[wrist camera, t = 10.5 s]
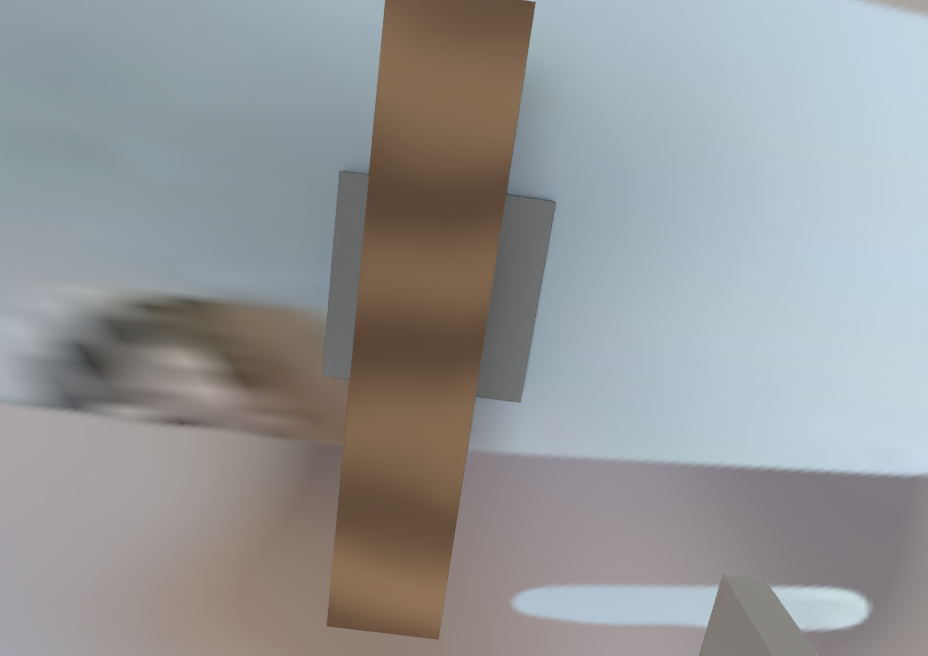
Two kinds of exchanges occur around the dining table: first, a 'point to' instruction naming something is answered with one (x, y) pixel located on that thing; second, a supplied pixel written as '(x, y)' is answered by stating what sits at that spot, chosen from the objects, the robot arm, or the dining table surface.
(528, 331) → the fulcrum
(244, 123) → the dining table surface
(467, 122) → the bar
